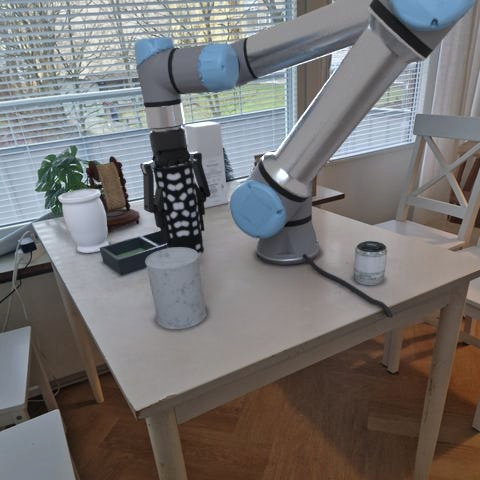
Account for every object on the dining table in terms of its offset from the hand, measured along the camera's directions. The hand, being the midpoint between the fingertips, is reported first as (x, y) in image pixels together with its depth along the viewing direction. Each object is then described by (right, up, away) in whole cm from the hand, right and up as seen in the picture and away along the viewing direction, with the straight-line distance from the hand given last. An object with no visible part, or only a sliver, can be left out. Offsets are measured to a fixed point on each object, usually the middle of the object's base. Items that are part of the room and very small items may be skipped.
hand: (183, 234), depth 99 cm
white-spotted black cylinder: (0, -4, +2) cm, 5 cm away
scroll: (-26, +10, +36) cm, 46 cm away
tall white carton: (+3, +21, +49) cm, 54 cm away
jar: (-28, 0, +20) cm, 34 cm away
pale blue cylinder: (+2, -19, -16) cm, 25 cm away
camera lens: (+40, -11, -8) cm, 43 cm away
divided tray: (-10, -3, +12) cm, 16 cm away
